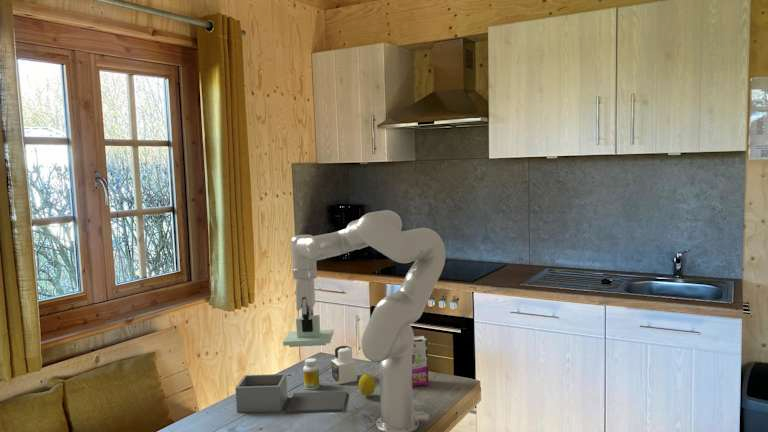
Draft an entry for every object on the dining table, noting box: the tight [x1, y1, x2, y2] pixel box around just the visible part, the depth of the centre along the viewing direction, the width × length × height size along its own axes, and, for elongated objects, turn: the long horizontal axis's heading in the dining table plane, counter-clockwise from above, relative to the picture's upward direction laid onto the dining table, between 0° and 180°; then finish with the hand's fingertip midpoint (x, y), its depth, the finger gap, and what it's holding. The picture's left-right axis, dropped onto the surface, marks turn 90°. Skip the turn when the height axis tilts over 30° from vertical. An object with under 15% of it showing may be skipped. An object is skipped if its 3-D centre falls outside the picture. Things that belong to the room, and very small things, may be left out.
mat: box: [285, 391, 348, 414], centre depth 188 cm, size 18×14×1 cm
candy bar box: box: [412, 335, 429, 388], centre depth 200 cm, size 11×5×16 cm, turn 97°
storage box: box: [235, 373, 288, 413], centre depth 188 cm, size 14×11×8 cm
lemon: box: [358, 373, 376, 398], centre depth 191 cm, size 6×6×8 cm
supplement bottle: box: [302, 357, 320, 390], centre depth 202 cm, size 5×5×10 cm
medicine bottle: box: [331, 345, 358, 386], centre depth 207 cm, size 7×7×12 cm
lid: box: [282, 314, 334, 348], centre depth 186 cm, size 15×12×8 cm
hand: (308, 329), depth 186 cm, fingers closed on lid, 4 cm apart
